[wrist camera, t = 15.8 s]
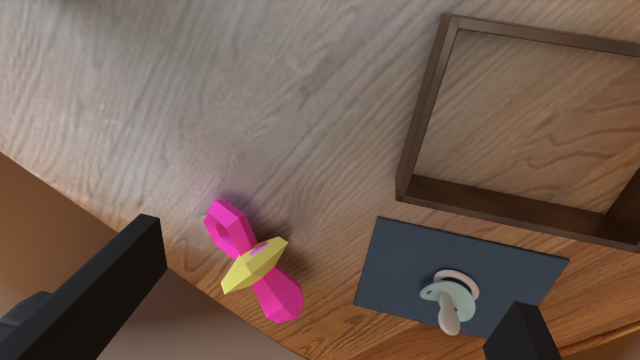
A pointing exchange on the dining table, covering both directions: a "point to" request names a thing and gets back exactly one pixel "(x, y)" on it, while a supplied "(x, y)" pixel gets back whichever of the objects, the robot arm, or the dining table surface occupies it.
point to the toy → (254, 263)
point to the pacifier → (452, 299)
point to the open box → (607, 230)
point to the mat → (450, 254)
